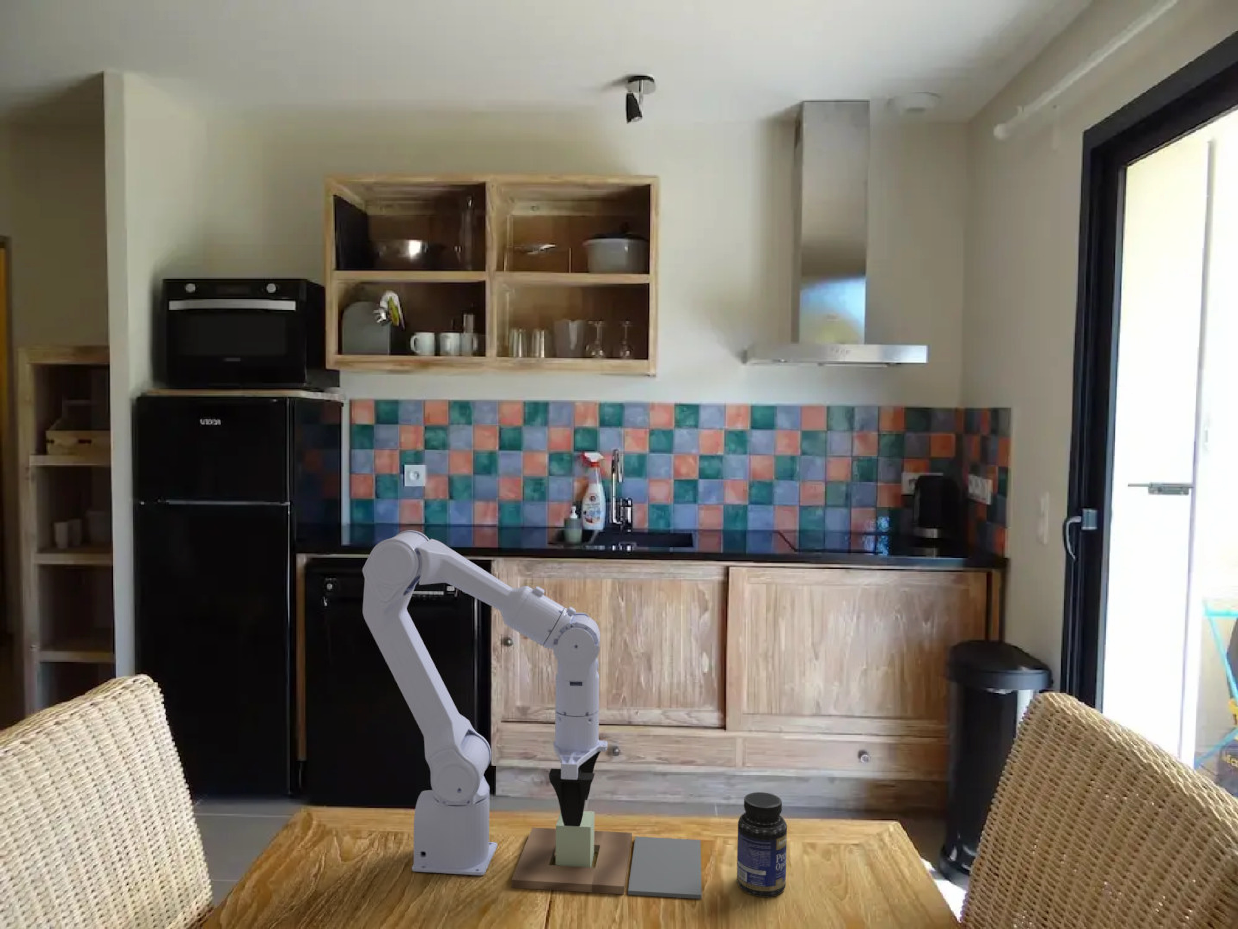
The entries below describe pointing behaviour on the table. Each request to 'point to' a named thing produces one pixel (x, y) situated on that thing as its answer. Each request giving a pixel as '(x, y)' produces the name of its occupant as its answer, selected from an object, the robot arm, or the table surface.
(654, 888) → the mat
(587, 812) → the sage block
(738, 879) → the pill bottle
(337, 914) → the table surface
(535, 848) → the pocket board
